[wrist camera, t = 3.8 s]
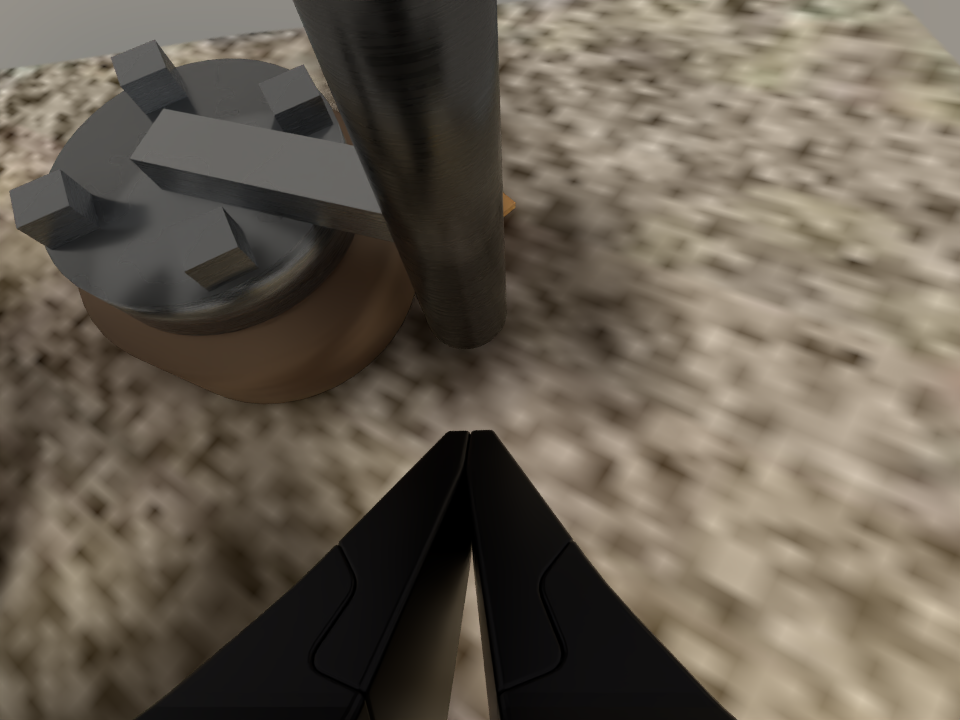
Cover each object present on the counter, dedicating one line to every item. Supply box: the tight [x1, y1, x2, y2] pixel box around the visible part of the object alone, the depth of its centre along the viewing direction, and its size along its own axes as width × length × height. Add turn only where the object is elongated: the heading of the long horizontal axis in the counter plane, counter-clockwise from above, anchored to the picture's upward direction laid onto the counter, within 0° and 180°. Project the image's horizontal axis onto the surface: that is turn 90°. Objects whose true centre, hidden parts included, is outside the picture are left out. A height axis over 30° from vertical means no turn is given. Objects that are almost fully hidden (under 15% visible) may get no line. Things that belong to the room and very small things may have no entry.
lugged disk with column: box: [9, 0, 507, 349], centre depth 11 cm, size 14×9×15 cm, turn 73°
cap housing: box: [79, 109, 516, 404], centre depth 18 cm, size 15×11×4 cm
